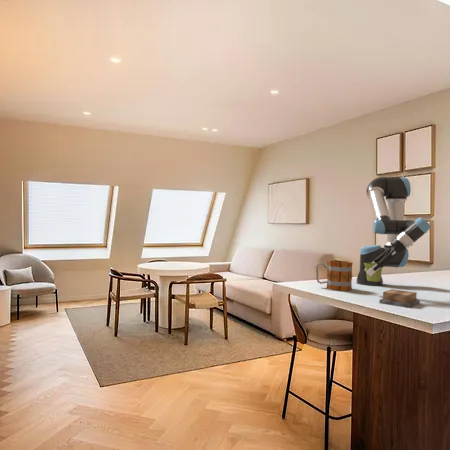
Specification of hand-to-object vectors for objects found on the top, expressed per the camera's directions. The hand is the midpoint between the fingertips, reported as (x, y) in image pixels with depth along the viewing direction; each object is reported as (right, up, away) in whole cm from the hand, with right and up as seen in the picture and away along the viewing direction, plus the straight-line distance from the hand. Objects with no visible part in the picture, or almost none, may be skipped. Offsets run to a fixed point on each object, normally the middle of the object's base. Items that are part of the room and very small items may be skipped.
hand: (367, 272), depth 197 cm
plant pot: (+3, -4, -1) cm, 5 cm away
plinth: (+8, -11, -20) cm, 24 cm away
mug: (-12, -11, +17) cm, 24 cm away
